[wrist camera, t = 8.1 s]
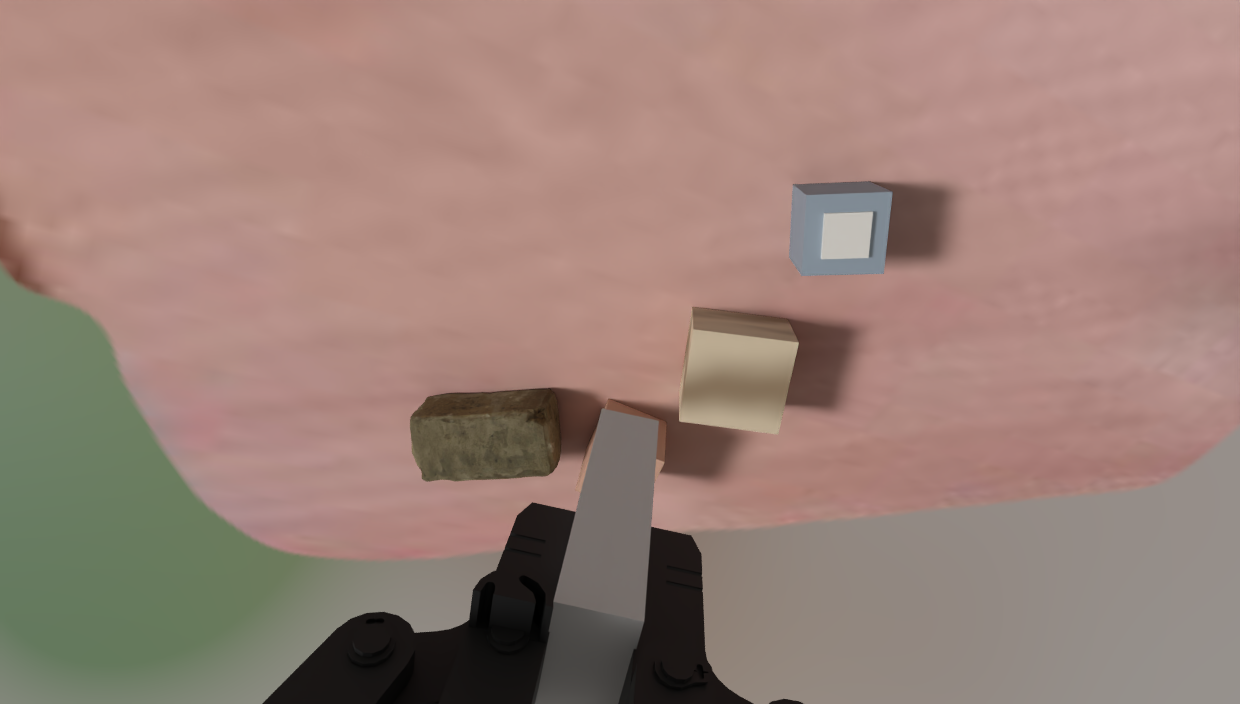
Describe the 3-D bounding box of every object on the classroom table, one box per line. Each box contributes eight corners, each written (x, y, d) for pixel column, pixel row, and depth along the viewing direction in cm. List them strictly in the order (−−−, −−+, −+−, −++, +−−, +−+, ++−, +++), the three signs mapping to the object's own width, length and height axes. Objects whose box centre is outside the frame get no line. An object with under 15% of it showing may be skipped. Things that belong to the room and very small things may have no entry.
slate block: (792, 184, 42) (807, 196, 37) (869, 181, 42) (894, 192, 37) (789, 257, 44) (802, 276, 39) (862, 254, 44) (885, 274, 39)
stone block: (569, 445, 52) (557, 479, 47) (437, 453, 53) (414, 487, 49) (557, 382, 50) (544, 411, 45) (421, 392, 51) (394, 421, 47)
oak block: (692, 306, 46) (693, 329, 42) (787, 318, 46) (799, 342, 41) (679, 390, 49) (679, 421, 44) (768, 402, 49) (778, 434, 44)
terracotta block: (608, 398, 50) (599, 438, 44) (666, 421, 50) (664, 464, 44) (586, 448, 52) (574, 492, 46) (642, 470, 52) (637, 517, 46)
